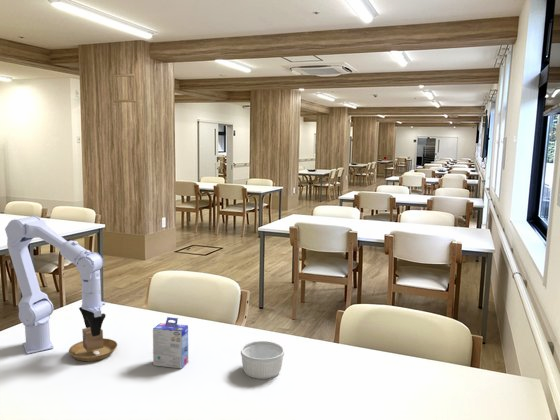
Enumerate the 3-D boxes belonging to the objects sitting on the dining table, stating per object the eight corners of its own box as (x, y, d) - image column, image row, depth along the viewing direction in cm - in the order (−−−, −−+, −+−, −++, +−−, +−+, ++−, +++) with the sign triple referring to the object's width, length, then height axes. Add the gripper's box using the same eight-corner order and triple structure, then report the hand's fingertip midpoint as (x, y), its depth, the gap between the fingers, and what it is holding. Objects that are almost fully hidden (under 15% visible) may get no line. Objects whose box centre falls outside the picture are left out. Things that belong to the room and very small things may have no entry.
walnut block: (83, 346, 154) (82, 328, 153) (98, 342, 157) (98, 325, 156) (87, 351, 150) (86, 333, 149) (103, 347, 153) (102, 330, 152)
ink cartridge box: (189, 361, 149) (189, 317, 147) (182, 369, 144) (181, 324, 142) (160, 358, 151) (159, 315, 149) (152, 365, 146) (151, 321, 144)
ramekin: (290, 366, 147) (291, 345, 146) (272, 385, 135) (272, 362, 134) (253, 358, 152) (253, 337, 152) (232, 375, 141) (232, 353, 140)
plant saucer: (100, 341, 164) (100, 334, 164) (126, 352, 156) (126, 345, 155) (60, 356, 152) (59, 348, 152) (85, 369, 144) (85, 361, 143)
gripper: (110, 295, 148) (111, 336, 149) (97, 283, 159) (99, 322, 161) (87, 299, 143) (88, 341, 145) (75, 287, 155) (77, 326, 157)
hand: (92, 331), depth 153 cm, fingers open, 7 cm apart
